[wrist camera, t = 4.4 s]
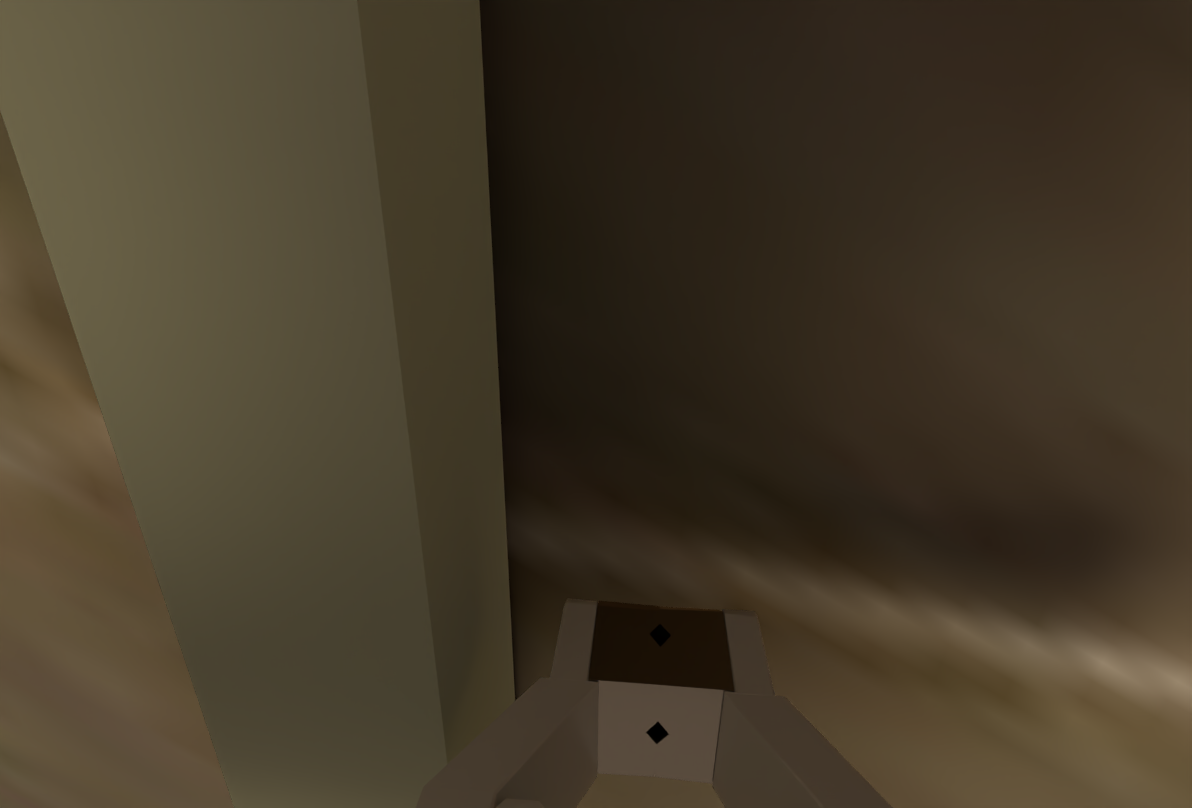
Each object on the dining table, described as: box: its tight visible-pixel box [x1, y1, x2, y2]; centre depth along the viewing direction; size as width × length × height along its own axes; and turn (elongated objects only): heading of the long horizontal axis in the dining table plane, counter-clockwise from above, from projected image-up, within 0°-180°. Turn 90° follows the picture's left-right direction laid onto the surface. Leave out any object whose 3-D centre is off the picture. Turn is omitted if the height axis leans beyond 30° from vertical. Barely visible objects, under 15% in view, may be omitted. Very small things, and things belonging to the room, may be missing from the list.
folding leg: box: [0, 0, 515, 808], centre depth 8 cm, size 23×4×5 cm, turn 179°
